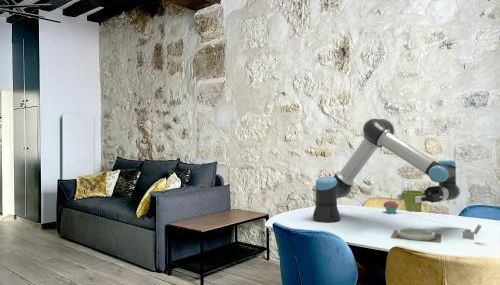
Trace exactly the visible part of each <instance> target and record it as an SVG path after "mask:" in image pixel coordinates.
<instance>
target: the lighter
mask: <svg viewBox="0 0 500 285" xmlns="http://www.w3.org/2000/svg"><path fill="white" fill-rule="evenodd" d="M481 228H483V227H482V225H481V224H477V226H476V227H475V229H474V231H472V229H464V230H462V239H468V240H475V235H478V233H479V231H480V230H481Z"/></svg>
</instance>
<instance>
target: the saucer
mask: <svg viewBox="0 0 500 285" xmlns="http://www.w3.org/2000/svg"><path fill="white" fill-rule="evenodd" d="M397 230H398V232H397V235H398V236H400V237H402V238H405V239H410V240H409V241H414V240H420V241H419V242H424V241H425V240H432V239H434V238H435V234H436V232H435V231H432V230H429V229H425V228H415V227H408V228H399V229H397ZM405 239H404V240H405Z"/></svg>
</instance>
